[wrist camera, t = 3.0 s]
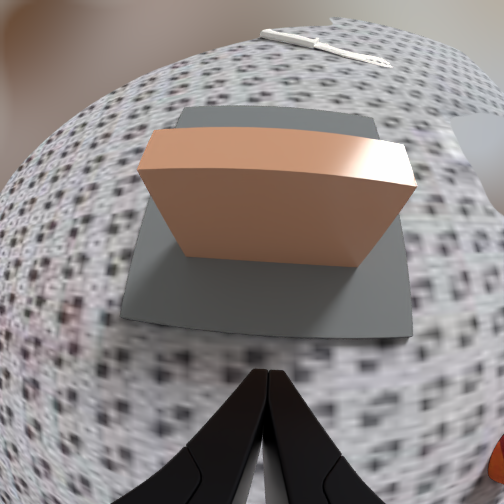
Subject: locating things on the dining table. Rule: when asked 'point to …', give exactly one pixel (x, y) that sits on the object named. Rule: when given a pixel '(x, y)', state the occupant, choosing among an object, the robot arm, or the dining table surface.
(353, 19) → the dining table surface
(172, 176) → the tile
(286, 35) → the knife
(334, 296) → the mat
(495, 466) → the coffee cup
